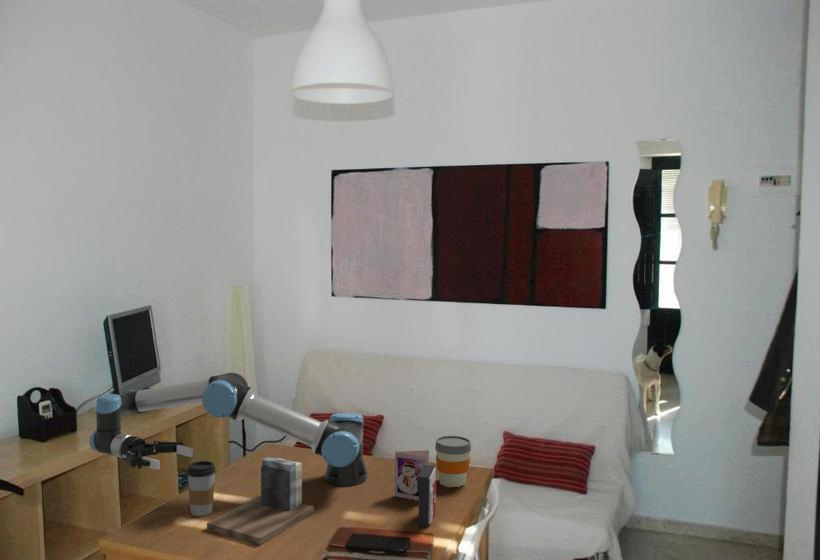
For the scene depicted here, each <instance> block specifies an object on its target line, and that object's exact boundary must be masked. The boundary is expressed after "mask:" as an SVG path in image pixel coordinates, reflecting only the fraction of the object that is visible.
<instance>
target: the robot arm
mask: <svg viewBox="0 0 820 560" xmlns="http://www.w3.org/2000/svg"><path fill="white" fill-rule="evenodd" d="M194 404H195V405H196V404H203V409H204V410H205V412H206V413H208V414H209V415H210V416H212V417H214V418H218V419H221V418H222V419H223V418H229V419H231V420H234V421H236V422H238V421H242V420H245V421H248V422H251V423H253V424H257V425H258V426H260V427H264V428H265V429H268V430H269V431H273V432H275V433H277V434H280V435H282V436H285V437H287V438H290V439H292V440H295V441H297V442H300V443H301V444H303V445H306V446H308V447H310V448H311V450H312V452H313V453H314V454H316V455H318V456H320V457H322V458H323V459H324V460H323V461H325V462H326V468H325V471H324V480H325V481H326V482H327V483H329V484H331V485H335V486H341V487H342V486H356V485H360V484H362V483H364V482H366V481H367V480H368V469H367V465H366V463H365V460H364V454H363V451H364V449H363V448H364V444H363V443H364V416H363V414H360V413H355V412H354V413H353V412H337V413H334V414H331V415H330V418H329V419H326V420H323V421H320V420H317V419H315V418H312V417H310V416H307V415H305V414H303V413H301V412H298V411H296V410H293V409H292V408H288V407H286V406H284V405H282V404H280V403H277V402H274V401H272V400H269V399H267V398H265V397H263V396H259V395H257V394H256V393H255V390H254V389H253V388H252V387H250V386H249V385H248V382H247V380H246V378H245V377H244V376H243V375H241V374H240V373H237V372H226V373H223V374H218V375H212V376H209V377H208V378H207V379H205V380H197V381H191V382H186V383H178V384H173V385H167V386H165V385H164V386H159V387H154V388H153V387H152V388H147V389H140V390H133V389H128V390H125V391H123V392H120V393H119V394H116V393H113V394H112V393H107V394H104V395H100V396H98V397H97V399H96V406H95V410H96V414H95V415H96V416H95V417H96V429H95V430H94V431H93V432H92V433H91V435H90V438H89V440H88V441H89V447H90V448H91V449H92V450H94V451H96V452H98V453H100V454H105V455H110V456H114V457H117V458H121V459H122V460H123V461H126V464H128V465H129V466H130V468H133V469H134V468H136V466H137V469H142V468H143V467H145V468H149V469H153V470H157V471H158V470H161V469H160V467H161V464H160V462H161V461H160V460H159V459H155V458H152V457H149V456H157V455H158V454H169V453H176V454H177V455H182V456H184V457H190V458H192V457H194V447H190V446H185V445H184V442H182V441H158V440H154V441H153V443H149V442H146V441H145V440H144V439H143V438H142V437H140V436H135V435H131V434H127V433H122V419H123V418H124V417H126V416H127V415H129V414H136V413H141V412H142V413H143V412H149V411H155V410H161V409H169V408H175V407H181V406H187V405H189V406H190V405H194Z"/></svg>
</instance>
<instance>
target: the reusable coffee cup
mask: <svg viewBox="0 0 820 560" xmlns="http://www.w3.org/2000/svg"><path fill="white" fill-rule="evenodd" d="M434 449H435V451H436V455H435V461H436V469H437V470H436V471H438V477H439V478H438V480H439V484H440V483H441V484H442V485H444V486H443V487H445V486H448V487H447V488H449V487H458V486H462V485H464V484H465V485H466V481H467V476H468V475H467V474H468V472H469V469H470V468H469V467H470V463H471V456H470V454H471V451H472V444H471V440H470V439H469V438H468V437H465V436H461V435H460V436H459V435H444V436H440V437H438V438H436V440H435V448H434ZM441 484H440V485H441ZM442 485H441V486H442ZM465 485H464V486H465ZM462 487H463V486H462ZM458 488H459V487H458Z"/></svg>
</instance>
